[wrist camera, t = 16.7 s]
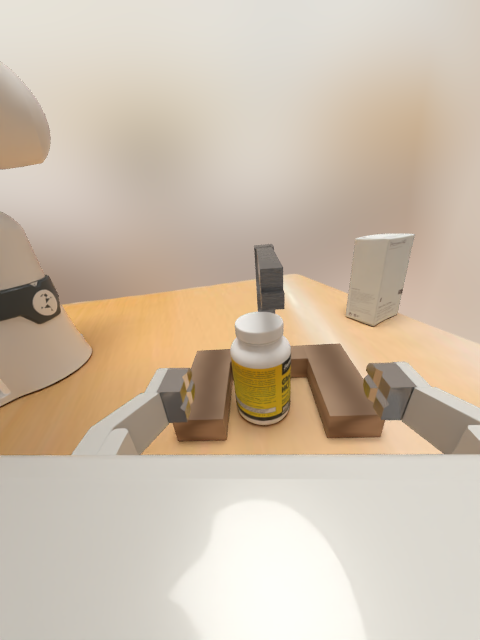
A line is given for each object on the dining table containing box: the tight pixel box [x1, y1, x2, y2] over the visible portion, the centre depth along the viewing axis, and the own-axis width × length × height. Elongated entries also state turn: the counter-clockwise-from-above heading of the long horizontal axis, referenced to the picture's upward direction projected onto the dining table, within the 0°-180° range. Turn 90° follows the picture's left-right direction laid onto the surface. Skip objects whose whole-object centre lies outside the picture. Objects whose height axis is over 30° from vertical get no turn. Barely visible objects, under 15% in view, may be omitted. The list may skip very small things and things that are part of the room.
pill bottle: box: [230, 312, 291, 425], centre depth 24 cm, size 6×6×11 cm
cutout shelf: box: [173, 344, 385, 441], centre depth 27 cm, size 20×12×3 cm, turn 88°
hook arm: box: [254, 244, 284, 314], centre depth 24 cm, size 2×12×17 cm, turn 178°
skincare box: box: [346, 234, 415, 326], centre depth 41 cm, size 8×6×15 cm
